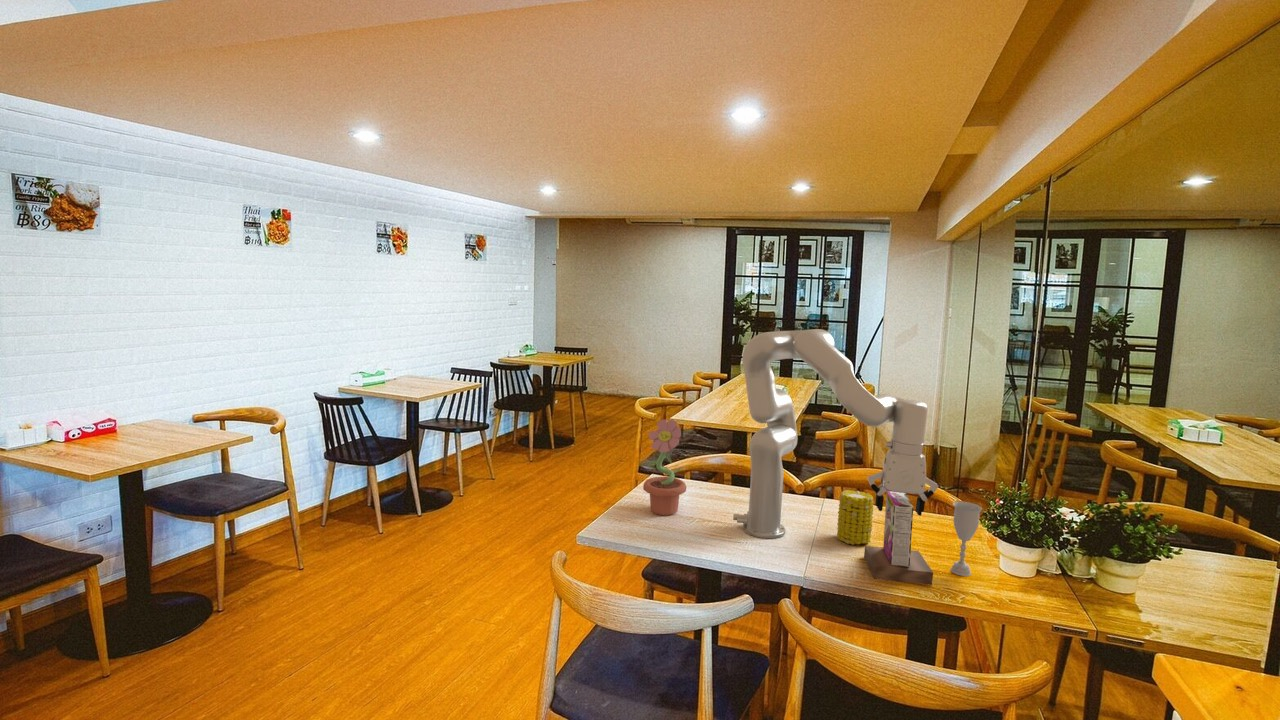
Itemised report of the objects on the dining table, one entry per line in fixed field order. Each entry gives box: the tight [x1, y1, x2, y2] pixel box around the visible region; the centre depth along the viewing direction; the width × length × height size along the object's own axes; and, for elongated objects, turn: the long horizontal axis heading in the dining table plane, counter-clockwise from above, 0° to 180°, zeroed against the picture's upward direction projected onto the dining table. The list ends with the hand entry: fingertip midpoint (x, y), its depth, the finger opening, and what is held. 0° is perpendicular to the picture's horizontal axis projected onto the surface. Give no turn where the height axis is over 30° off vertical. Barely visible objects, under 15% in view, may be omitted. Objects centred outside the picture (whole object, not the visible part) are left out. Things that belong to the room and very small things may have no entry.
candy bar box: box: [883, 490, 914, 567], centre depth 163 cm, size 11×5×16 cm, turn 168°
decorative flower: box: [642, 419, 687, 516], centre depth 200 cm, size 15×14×30 cm
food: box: [836, 489, 875, 546], centre depth 183 cm, size 15×12×10 cm
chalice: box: [950, 501, 983, 577], centre depth 164 cm, size 7×7×18 cm
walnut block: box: [863, 545, 934, 586], centre depth 164 cm, size 14×13×4 cm
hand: (898, 511), depth 163 cm, fingers open, 9 cm apart
